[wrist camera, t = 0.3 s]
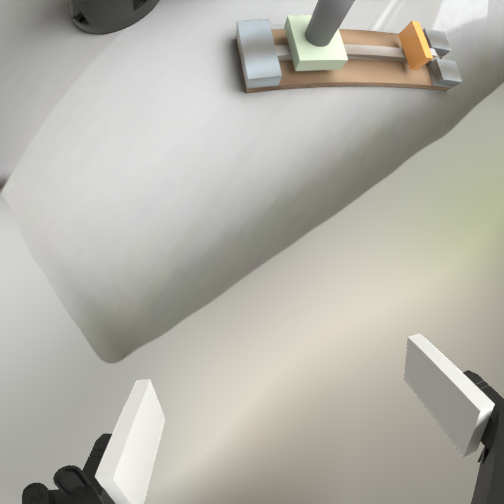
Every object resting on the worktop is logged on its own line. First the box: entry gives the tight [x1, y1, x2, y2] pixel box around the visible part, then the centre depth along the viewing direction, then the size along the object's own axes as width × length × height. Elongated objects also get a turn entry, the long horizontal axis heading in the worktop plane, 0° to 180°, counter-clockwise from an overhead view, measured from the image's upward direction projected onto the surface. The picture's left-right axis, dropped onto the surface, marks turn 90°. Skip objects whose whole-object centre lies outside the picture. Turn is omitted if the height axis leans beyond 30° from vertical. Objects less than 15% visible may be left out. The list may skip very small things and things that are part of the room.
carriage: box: [284, 0, 355, 71], centre depth 27 cm, size 7×6×16 cm
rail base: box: [236, 19, 462, 93], centre depth 36 cm, size 9×32×4 cm, turn 99°
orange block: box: [398, 21, 437, 70], centre depth 33 cm, size 6×5×4 cm
